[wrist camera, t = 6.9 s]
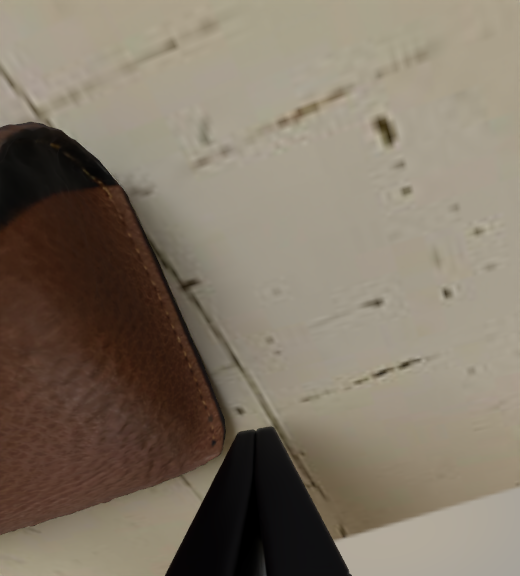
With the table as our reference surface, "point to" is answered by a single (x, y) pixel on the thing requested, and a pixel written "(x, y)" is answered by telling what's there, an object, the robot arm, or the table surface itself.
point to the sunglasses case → (87, 341)
